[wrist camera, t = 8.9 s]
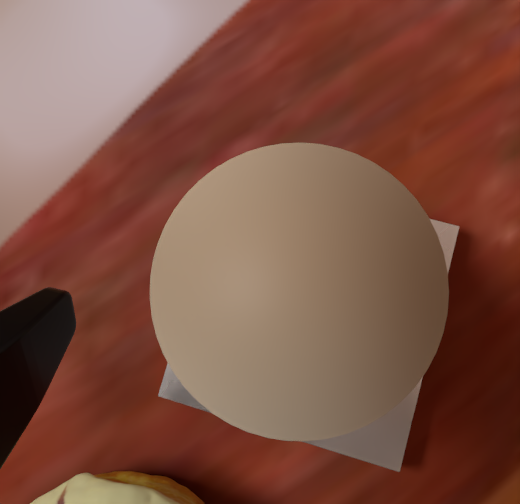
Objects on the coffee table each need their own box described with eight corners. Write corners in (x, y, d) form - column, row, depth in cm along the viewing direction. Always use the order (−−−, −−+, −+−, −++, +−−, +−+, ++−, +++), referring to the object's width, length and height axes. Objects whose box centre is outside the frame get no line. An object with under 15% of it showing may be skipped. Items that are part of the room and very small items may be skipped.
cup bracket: (395, 465, 18) (426, 514, 14) (163, 392, 19) (122, 416, 15) (452, 230, 19) (499, 203, 14) (229, 172, 20) (208, 131, 15)
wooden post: (356, 353, 18) (469, 432, 5) (268, 360, 18) (156, 449, 5) (347, 265, 18) (428, 127, 5) (261, 273, 18) (144, 158, 6)
